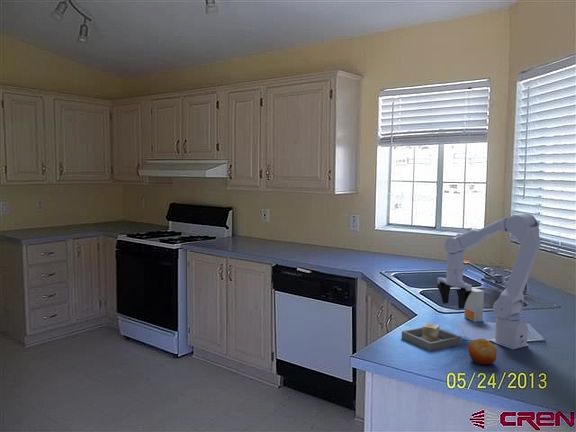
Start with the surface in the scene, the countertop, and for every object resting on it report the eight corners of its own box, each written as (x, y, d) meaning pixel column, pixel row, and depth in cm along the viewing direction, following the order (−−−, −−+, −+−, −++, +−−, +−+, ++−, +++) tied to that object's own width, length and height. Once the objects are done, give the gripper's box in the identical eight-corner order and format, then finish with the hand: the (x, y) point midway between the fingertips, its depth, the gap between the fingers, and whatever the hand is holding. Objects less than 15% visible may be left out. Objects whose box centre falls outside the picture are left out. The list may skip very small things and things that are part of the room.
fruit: (486, 351, 152) (493, 334, 148) (495, 372, 146) (503, 355, 141) (461, 351, 152) (467, 334, 147) (469, 372, 146) (475, 355, 141)
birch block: (438, 339, 165) (439, 325, 165) (435, 343, 162) (436, 328, 161) (425, 337, 168) (426, 323, 167) (422, 340, 164) (422, 326, 164)
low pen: (460, 344, 162) (460, 337, 162) (430, 351, 156) (430, 343, 155) (430, 332, 174) (430, 325, 174) (401, 338, 167) (401, 331, 167)
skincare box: (463, 317, 193) (465, 288, 192) (472, 316, 194) (473, 287, 193) (474, 322, 187) (475, 291, 186) (483, 321, 188) (484, 290, 187)
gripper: (478, 272, 173) (476, 309, 174) (447, 265, 186) (446, 299, 187) (464, 273, 170) (463, 311, 171) (433, 266, 182) (432, 302, 184)
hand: (453, 305), depth 179 cm, fingers open, 7 cm apart
